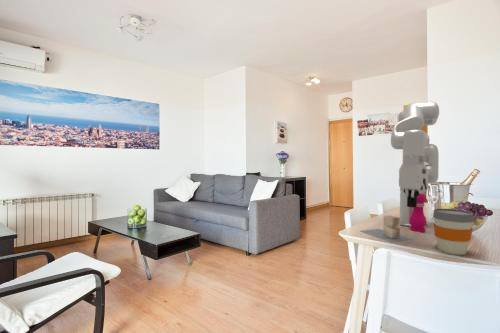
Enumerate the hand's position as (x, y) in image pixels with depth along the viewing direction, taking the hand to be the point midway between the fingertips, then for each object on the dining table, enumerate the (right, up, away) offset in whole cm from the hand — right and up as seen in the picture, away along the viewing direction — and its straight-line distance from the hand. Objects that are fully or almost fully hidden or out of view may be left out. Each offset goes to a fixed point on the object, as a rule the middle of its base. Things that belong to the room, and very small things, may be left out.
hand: (411, 206), depth 114 cm
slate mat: (-5, -15, +13) cm, 20 cm away
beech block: (-3, -15, +10) cm, 18 cm away
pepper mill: (+16, -15, +22) cm, 31 cm away
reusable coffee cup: (+12, -16, -6) cm, 21 cm away
